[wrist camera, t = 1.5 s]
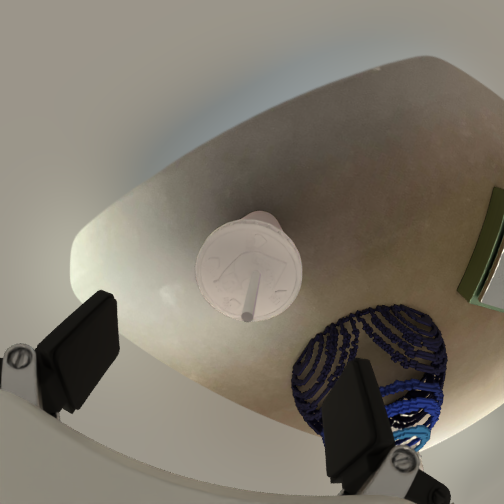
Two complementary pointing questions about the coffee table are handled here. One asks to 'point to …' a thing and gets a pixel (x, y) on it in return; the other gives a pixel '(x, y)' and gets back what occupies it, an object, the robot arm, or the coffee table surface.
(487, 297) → the scale platform
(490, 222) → the scale
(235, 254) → the smoothie
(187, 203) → the coffee table surface
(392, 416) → the decorative bowl
